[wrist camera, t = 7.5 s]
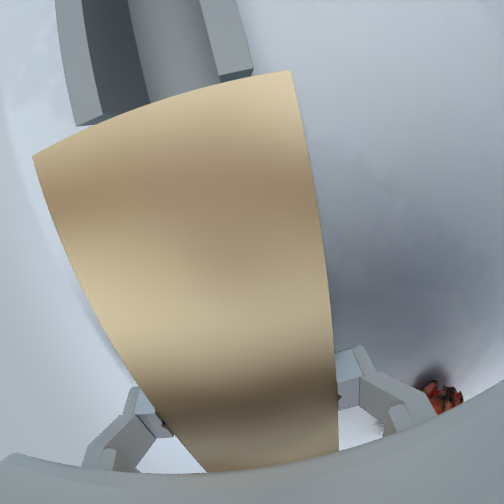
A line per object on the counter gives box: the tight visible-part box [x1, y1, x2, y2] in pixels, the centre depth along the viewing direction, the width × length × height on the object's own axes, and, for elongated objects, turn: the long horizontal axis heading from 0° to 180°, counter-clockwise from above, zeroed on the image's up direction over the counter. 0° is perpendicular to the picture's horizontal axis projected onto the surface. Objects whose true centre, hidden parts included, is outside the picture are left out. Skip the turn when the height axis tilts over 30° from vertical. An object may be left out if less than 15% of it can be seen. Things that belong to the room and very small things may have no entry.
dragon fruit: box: [420, 380, 463, 415], centre depth 22 cm, size 8×8×12 cm
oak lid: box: [32, 70, 339, 473], centre depth 11 cm, size 20×7×3 cm, turn 13°
